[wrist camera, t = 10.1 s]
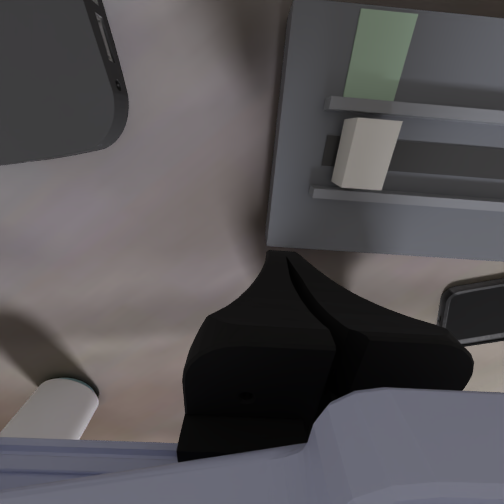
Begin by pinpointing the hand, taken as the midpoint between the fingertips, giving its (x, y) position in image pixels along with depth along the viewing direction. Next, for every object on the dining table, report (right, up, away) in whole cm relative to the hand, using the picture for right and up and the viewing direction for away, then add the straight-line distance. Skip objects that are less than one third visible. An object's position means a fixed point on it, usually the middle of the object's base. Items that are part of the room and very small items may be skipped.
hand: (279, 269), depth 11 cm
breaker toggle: (+5, +7, +4) cm, 10 cm away
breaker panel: (+11, +8, +7) cm, 15 cm away
